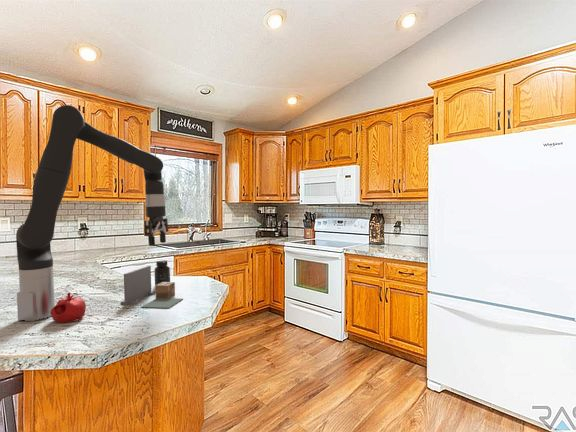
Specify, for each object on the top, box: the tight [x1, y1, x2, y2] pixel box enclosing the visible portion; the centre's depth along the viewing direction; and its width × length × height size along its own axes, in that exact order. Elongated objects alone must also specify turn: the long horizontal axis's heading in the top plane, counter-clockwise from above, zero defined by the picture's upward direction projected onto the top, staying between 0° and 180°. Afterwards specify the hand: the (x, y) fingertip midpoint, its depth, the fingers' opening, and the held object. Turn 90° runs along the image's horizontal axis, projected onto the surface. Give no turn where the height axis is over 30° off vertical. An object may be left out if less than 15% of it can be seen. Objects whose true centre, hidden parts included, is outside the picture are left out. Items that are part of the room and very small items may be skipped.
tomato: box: [50, 292, 87, 324], centre depth 104 cm, size 10×10×9 cm
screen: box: [120, 265, 156, 306], centre depth 127 cm, size 16×5×12 cm, turn 172°
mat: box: [140, 297, 184, 310], centre depth 120 cm, size 11×11×1 cm
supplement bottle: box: [153, 259, 171, 288], centre depth 146 cm, size 7×7×12 cm
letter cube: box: [154, 281, 176, 299], centre depth 130 cm, size 6×6×6 cm
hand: (157, 244), depth 129 cm, fingers open, 8 cm apart
